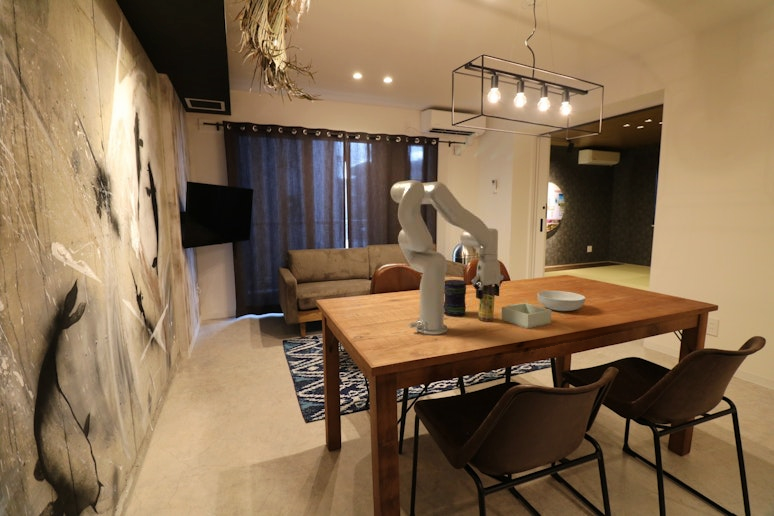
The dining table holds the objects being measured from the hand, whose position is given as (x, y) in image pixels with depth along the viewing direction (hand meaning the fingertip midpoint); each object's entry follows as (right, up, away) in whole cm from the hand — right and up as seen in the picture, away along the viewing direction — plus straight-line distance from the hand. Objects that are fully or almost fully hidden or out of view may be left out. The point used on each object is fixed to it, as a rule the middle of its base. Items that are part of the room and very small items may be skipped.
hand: (487, 297), depth 160 cm
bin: (+16, -10, -1) cm, 19 cm away
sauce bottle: (0, -10, +1) cm, 10 cm away
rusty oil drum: (-12, -9, +11) cm, 19 cm away
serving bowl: (+39, -8, +18) cm, 44 cm away
